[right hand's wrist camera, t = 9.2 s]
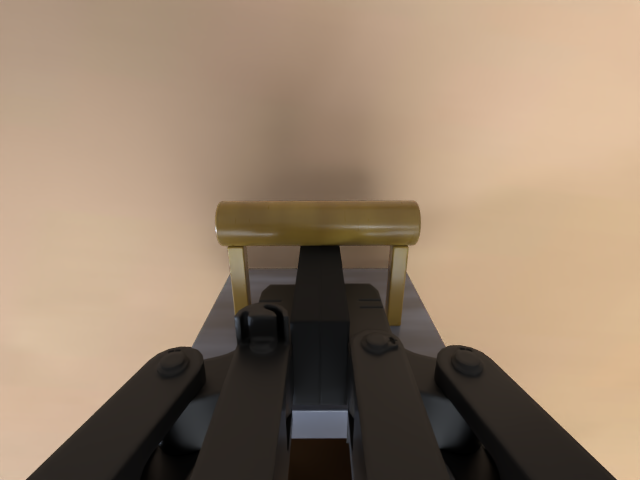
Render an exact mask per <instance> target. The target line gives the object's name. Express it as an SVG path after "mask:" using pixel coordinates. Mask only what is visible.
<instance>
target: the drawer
mask: <svg viewBox="0 0 640 480" xmlns="http://www.w3.org/2000/svg"><path fill="white" fill-rule="evenodd" d="M420 229H421V216H420V210H419V206H418V204H417V202H416V201H222V202H220V203H219V204H218V206H217V210H216V215H215V230H216V236H217V239H218V242H219V244H220V245H222V246H228V248H227V249H228V258H229V266H230V275H229V277H228V279H227V281H226V283H225V285H224V287H223V289H222V290H221V292H220V294H219V296H218V298H217V300H216V302H215V304H214V306H213V308H212V309H211V311H210V313H209V315H208V317H207V319H206V321H205V323H204V325H203V327H202V328H201V330H200V332H199V334H198V336H197V338H196V340H195V342H194V344H193V346H192V348H194V349H197V350H199V351H200V353H201V354H202V355H203V360H204V359H208V358H213V357H217V356H221V355H224V354H228V353H230V352H232V351H234V350H235V349H236V346H237V338H236V329H235V320H234V316H235V315H236V313H237V312H238V311H239V310H241V309H242V308H244V307H245V306H248V305H251V304H254V303H258V302H259V299H260V296H261V293H262V291H263V290H264V289H266V288H267V287H268V286H269V285H270V284H295V283H296V276H297V269H248V259H247V248H246V246H371V245H390V254H389V266H388V268H343V276H344V283H370V284H371V285H372V286H374V287H375V288H376V289H377V290H378V291H379V294H380V298H381V301H382V304H383V308H384V310H385V313H386V316H387V319H388V322H389V325H390V329H391V332H392V333H393V334H394V335H395V336H397V337H398V338H399V339H400V341H401V342H402V344H403V346H404V348H405V349H407V350H409V351H411V352H414V353H417V354H420V355H425V356H429V357H434V358H437V354H438V352H439V351H440V350H441V349H442V348H445V345H444V343H443V341H442V339H441V337H440V335H439V333H438V331H437V329H436V328H435V326H434V324H433V322H432V320H431V318H430V316H429V314H428V312H427V310H426V308H425V306H424V305H423V303H422V301H421V299H420V297H419V295H418V293H417V291H416V289H415V287H414V285H413V284H412V282H411V280H410V278H409V276H408V274H407V272H406V269H407V259H408V249H409V247H408V245H415V244H416V243H417V241H418V239H419V235H420ZM292 416H293V425H292V437H291V449H290V460H289V472H288V480H352V472H351V460H350V448H349V443H346V442H347V416H348V403H347V405H293V404H292Z"/></svg>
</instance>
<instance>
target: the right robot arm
mask: <svg viewBox="0 0 640 480" xmlns="http://www.w3.org/2000/svg"><path fill="white" fill-rule="evenodd" d="M234 320H235V329H236V338H237V346H236V349H235V350H234V351H232V352H230V353H228V354H224V355H221V356H217V357H213V358H208V359H204V360H203V355H202V354H201V353H200V351H199V350H197V349H194V348H192V347H176V348H172V349H168V350H166V351H163V352H161V353H159V354H157V355H156V356H154V357H153V358H152V359H150V360H149V361H148V362H147V363H146V364H145V365H144V366H143V367H142V368H141V369H140V370H139V371H138V372H137V373H136V374H135V375H134V376H133V377H132V378H131V379H129V380H128V381H127V382H126V383H125V384H124V385H123V386H122V387H121V388H120V389H119V390H118V391H117V392H116V393H115V394H114V395H113V396H112V397H111V398H110V399H109V400H108V401H107V402H106V403H105V404H104V405H103V406H102V407H101V408H100V409H98V410H97V411H96V412H95V413H94V414H93V415H92V416H91V417H90V418H89V419H88V420H87V421H86V422H85V423H84V424H83V425H82V426H81V427H80V428H79V429H78V430H77V431H76V432H75V433H74V434H73V435H72V436H71V437H70V438H69V439H68V440H66V441H65V442H64V443H63V444H62V445H61V446H60V447H59V448H58V449H57V450H56V451H55V452H54V453H53V454H52V455H51V456H50V457H49V458H48V459H47V460H46V461H45V462H44V463H43V464H42V465H41V466H40V467H39V468H38V469H37V470H36V471H34V472H33V473H32V474H31V475H30V476H29V477H28V478H27V479H26V480H288V472H289V460H290V449H291V437H292V425H293V416H292V404H293V405H347V403H348V416H347V442H346V443H349V448H350V460H351V472H352V480H617V479H616V478H615V477H613V476H612V475H611V474H610V473H609V472H608V471H607V470H606V469H605V468H604V467H603V466H602V465H601V464H600V463H599V462H598V461H597V460H596V459H595V458H594V457H593V456H592V455H591V454H590V453H588V452H587V451H586V450H585V449H584V448H583V447H582V446H581V445H580V444H579V443H578V442H577V441H576V440H575V439H574V438H573V437H572V436H571V435H570V434H569V433H568V432H567V431H566V430H565V429H564V428H562V427H561V426H560V425H559V424H558V423H557V422H556V421H555V420H554V419H553V418H552V417H551V416H550V415H549V414H548V413H547V412H546V411H545V410H544V409H543V408H542V407H541V406H540V405H539V404H538V403H536V402H535V401H534V400H533V399H532V398H531V397H530V396H529V395H528V394H527V393H526V392H525V391H524V390H523V389H522V388H521V387H520V386H519V385H518V384H517V383H516V382H515V381H514V380H513V379H512V378H510V377H509V376H508V375H507V374H506V373H505V372H504V371H503V370H502V369H501V368H500V367H499V366H498V365H497V364H496V363H495V362H494V361H493V360H492V359H491V358H489V357H488V356H486V355H485V354H484V353H482V352H480V351H478V350H476V349H473V348H471V347H466V346H461V345H452V346H447V347H445V348H442V349H441V350H440V351H439V352H438V354H437V358H434V357H429V356H425V355H420V354H417V353H414V352H411V351H409V350H407V349H405V348H404V346H403V344H402V342H401V341H400V339H399V338H398V337H397V336H395V335H394V334H393V333H392V332H391V329H390V325H389V322H388V319H387V316H386V313H385V310H384V308H383V304H382V301H381V298H380V294H379V291H378V290H377V289H376V288H375V287H374V286H372V285H371V284H370V283H344V276H343V269H342V262H341V255H340V248H339V246H301V248H300V255H299V262H298V269H297V276H296V283H295V284H270V285H269V286H268V287H267V288H266V289H264V290H263V291H262V293H261V296H260V299H259V302H258V303H254V304H251V305H248V306H245V307H244V308H242V309H241V310H239V311H238V312H237V313H236V315H235V316H234Z"/></svg>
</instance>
